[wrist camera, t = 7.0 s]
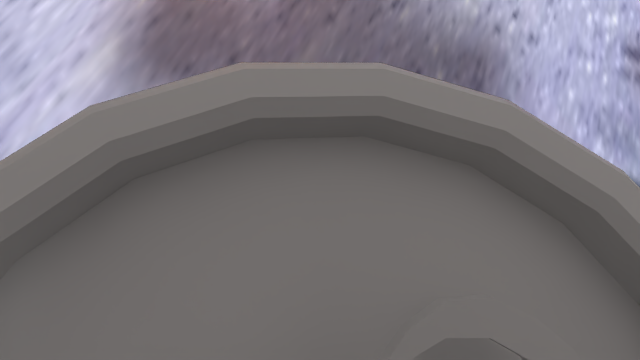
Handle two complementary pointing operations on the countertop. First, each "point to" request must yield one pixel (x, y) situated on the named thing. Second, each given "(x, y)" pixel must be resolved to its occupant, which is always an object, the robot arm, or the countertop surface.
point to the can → (315, 226)
